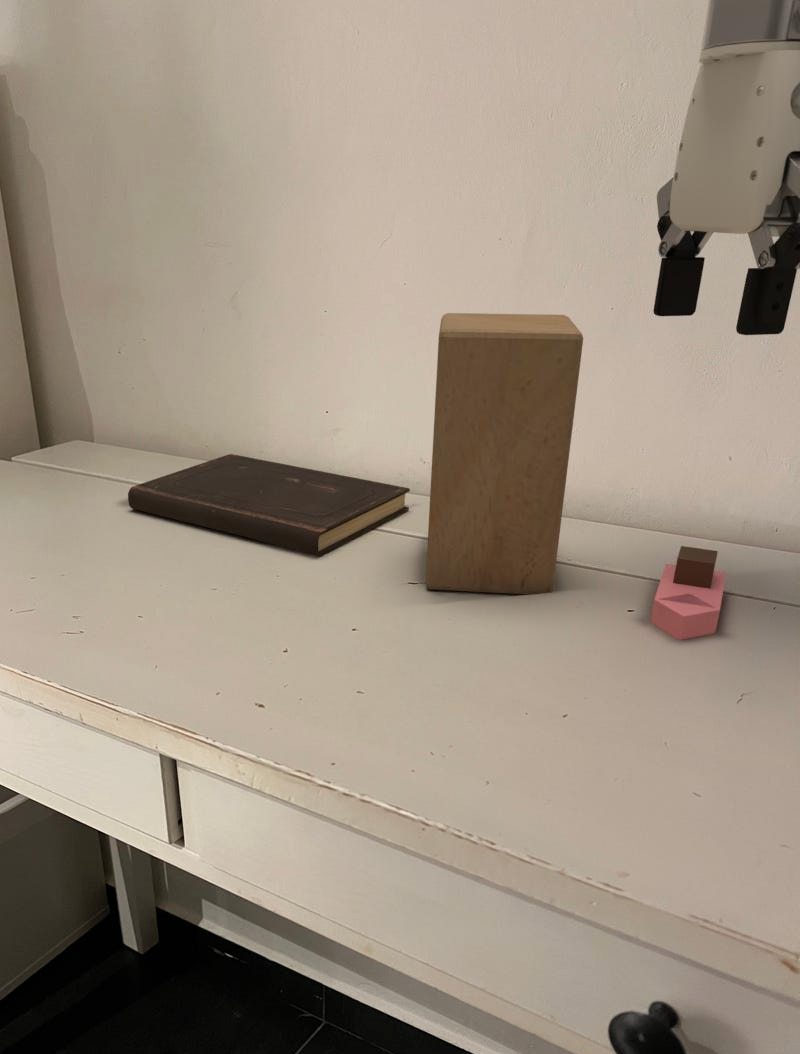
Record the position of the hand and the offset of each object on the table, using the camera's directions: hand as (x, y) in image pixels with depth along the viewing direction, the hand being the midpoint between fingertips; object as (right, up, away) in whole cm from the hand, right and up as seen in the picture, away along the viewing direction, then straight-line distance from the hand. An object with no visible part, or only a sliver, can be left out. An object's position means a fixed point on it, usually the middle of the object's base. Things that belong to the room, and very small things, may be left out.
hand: (713, 324), depth 64 cm
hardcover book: (-33, -9, +27) cm, 44 cm away
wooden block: (-13, -16, +13) cm, 25 cm away
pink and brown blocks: (-1, -21, +4) cm, 21 cm away
